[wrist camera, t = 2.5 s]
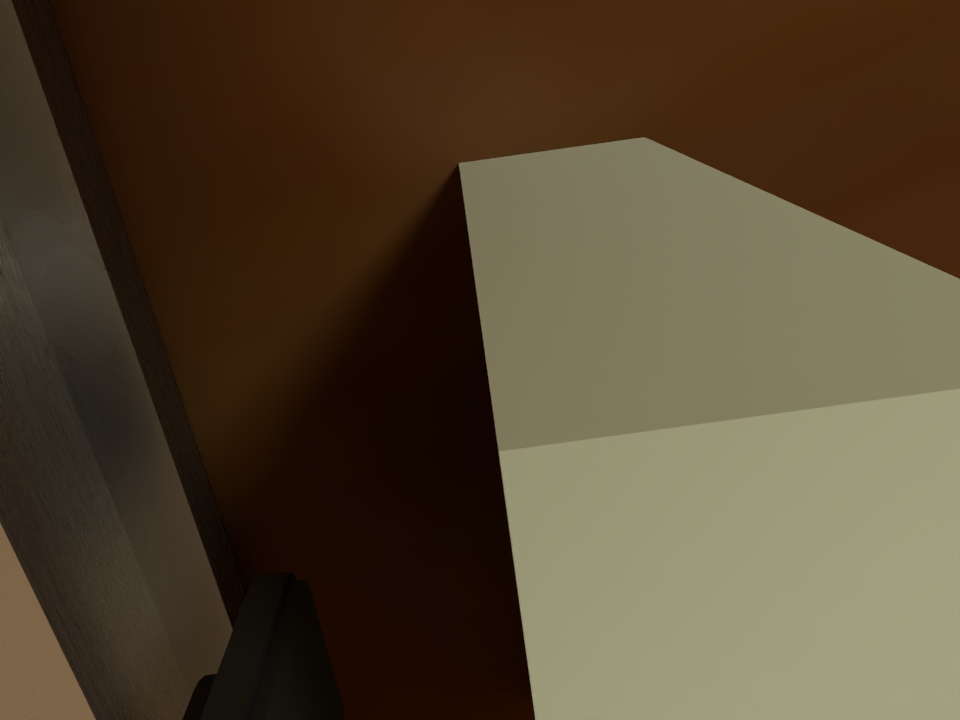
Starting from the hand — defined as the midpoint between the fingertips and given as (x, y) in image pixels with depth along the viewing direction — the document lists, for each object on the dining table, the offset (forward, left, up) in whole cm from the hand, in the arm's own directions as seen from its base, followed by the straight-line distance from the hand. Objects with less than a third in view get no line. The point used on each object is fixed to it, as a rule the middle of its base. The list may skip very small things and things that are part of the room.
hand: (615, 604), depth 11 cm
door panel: (0, 0, -3) cm, 3 cm away
